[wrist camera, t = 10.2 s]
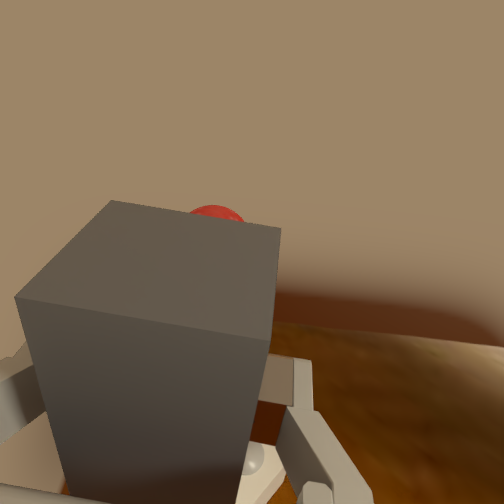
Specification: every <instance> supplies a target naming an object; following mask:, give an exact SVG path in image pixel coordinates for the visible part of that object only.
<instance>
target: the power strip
mask: <svg viewBox="0 0 504 504" xmlns="http://www.w3.org/2000/svg"><path fill="white" fill-rule="evenodd" d="M275 447H276V446H271V445H266V444H261V443H257V442H252V441H249V443H248V448H247V453H246V457H245V462H244V466H243V471H242V476H241V480H240V485H239V489H238V494H237V499H236V503H235V504H266V503H267V502H268V500H269V499H270V498H271V497H272V495H273V494H274V493H275V492H276V490H277V489H278V488H279V487H280V485H281V484H282V483H283V481H284V478H285V475H286V471H285V469H284V467H283V465H282V462H281V460H280V458H279V456H278V453H277V451H276V449H275Z"/></svg>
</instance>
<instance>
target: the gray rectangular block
mask: <svg viewBox="0 0 504 504" xmlns="http://www.w3.org/2000/svg"><path fill="white" fill-rule="evenodd" d="M280 236H281V228H277V227H270V226H264V225H259V224H253V223H247V222H241V221H235V220H229V219H223V218H217V217H211V216H205V215H199V214H193V213H186V212H180V211H174V210H168V209H162V208H156V207H150V206H144V205H138V204H132V203H125V202H120V201H114V200H111V201H110V202H109V203H108V204H107V205H106V206H105V207H104V208H103V209H102V210H101V211H100V212H99V213H98V214H97V215H96V216H95V217H94V218H93V219H92V220H91V221H90V222H89V223H88V224H87V225H86V226H85V227H84V228H83V229H82V230H81V231H80V232H79V233H78V234H77V235H76V236H75V237H74V238H73V239H72V240H71V241H70V242H69V243H68V244H67V245H66V246H65V247H64V248H63V249H62V250H61V251H60V252H59V253H58V254H57V255H56V256H55V257H54V258H53V259H52V260H51V261H50V262H49V263H48V264H47V265H46V266H45V267H44V268H43V269H42V270H41V271H40V272H39V273H38V274H37V275H36V276H35V277H34V278H33V279H32V280H31V281H30V282H29V283H28V284H27V285H26V286H25V287H24V288H23V289H22V290H21V291H20V292H19V293H18V294H17V295H16V296H15V297H14V298H15V301H16V305H17V308H18V312H19V316H20V319H21V323H22V326H23V330H24V333H25V337H26V341H27V344H28V348H29V351H30V355H31V358H32V362H33V365H34V369H35V373H36V376H37V380H38V383H39V387H40V390H41V394H42V397H43V401H44V405H45V408H46V412H47V415H48V419H49V422H50V426H51V429H52V433H53V437H54V440H55V443H56V447H57V451H58V454H59V458H60V461H61V465H62V469H63V472H64V476H65V479H66V483H67V486H68V490H69V493H70V496H73V497H79V498H84V499H90V500H95V501H101V502H106V503H111V504H235V503H236V499H237V494H238V489H239V485H240V480H241V476H242V471H243V466H244V462H245V457H246V453H247V448H248V443H249V439H250V434H251V430H252V425H253V420H254V416H255V411H256V407H257V402H258V397H259V393H260V388H261V384H262V379H263V374H264V370H265V365H266V361H267V356H268V351H269V347H270V342H271V333H272V322H273V311H274V301H275V290H276V279H277V269H278V257H279V246H280Z"/></svg>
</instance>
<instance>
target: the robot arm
mask: <svg viewBox="0 0 504 504" xmlns="http://www.w3.org/2000/svg"><path fill="white" fill-rule="evenodd" d="M45 411H46V408H45V405H44V401H43V397H42V394H41V390H40V387H39V383H38V380H37V376H36V373H35V369H34V365H33V362H32V358H31V355H30V351H29V348H28V344H27V341H26V342H25V343H24V344H23V346H22V347H21V348H20V349H19V350H18V352H17V353H16V354H15V355H14V357H13V358H11V357H6V358H4V359H2V360H0V445H1V444H2V443H3V442H5V441H6V440H7V439H9V438H10V437H11V436H13V435H14V434H15V433H17V432H18V431H19V430H20V429H22V428H23V427H25V426H26V425H27V424H29V423H30V422H31V421H33V420H34V419H35V418H37V417H38V416H39V415H41V414H42V413H43V412H45ZM249 441H252V442H257V443H261V444H266V445H271V446H276V447H275V449H276V451H277V453H278V456H279V458H280V460H281V462H282V465H283V467H284V469H285V471H286V474H287V476H288V478H289V480H290V483H291V485H292V487H293V489H294V492H295V494H296V496H297V498H298V500H297V503H296V504H374V503H373V496H372V491H371V489H370V488H369V486H368V485H367V483H366V482H365V480H364V479H363V477H362V476H361V474H360V473H359V471H358V470H357V468H356V467H355V465H354V464H353V462H352V461H351V459H350V458H349V456H348V455H347V453H346V452H345V450H344V449H343V447H342V446H341V444H340V443H339V441H338V440H337V438H336V437H335V435H334V434H333V432H332V431H331V429H330V428H329V426H328V425H327V423H326V422H325V420H324V419H323V417H322V416H321V414H320V413H319V412H318V411H313V384H312V363H311V361H310V360H306V359H300V358H293V357H288V356H282V355H276V354H270V353H268V356H267V361H266V365H265V370H264V374H263V379H262V384H261V388H260V393H259V397H258V402H257V407H256V411H255V416H254V420H253V425H252V430H251V434H250V439H249ZM0 504H111V503H106V502H101V501H95V500H90V499H84V498H79V497H73V496H68V495H63V494H57V493H51V492H46V491H41V490H36V489H30V488H25V487H19V486H13V485H8V484H3V483H0Z"/></svg>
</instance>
